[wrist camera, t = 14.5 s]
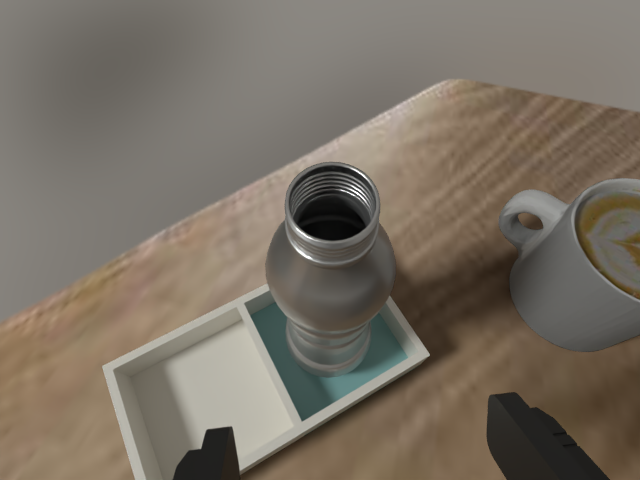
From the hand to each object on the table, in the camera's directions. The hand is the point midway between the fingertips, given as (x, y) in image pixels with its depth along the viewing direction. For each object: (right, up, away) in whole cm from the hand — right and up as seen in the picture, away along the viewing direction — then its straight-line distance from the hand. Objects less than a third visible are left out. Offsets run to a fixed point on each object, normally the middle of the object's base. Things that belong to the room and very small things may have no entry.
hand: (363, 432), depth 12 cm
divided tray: (-5, -4, +20) cm, 21 cm away
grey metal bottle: (-1, -2, +20) cm, 20 cm away
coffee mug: (+19, +2, +23) cm, 30 cm away
